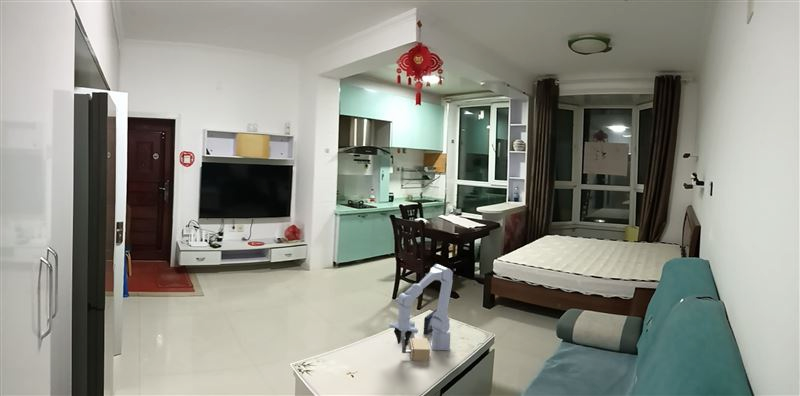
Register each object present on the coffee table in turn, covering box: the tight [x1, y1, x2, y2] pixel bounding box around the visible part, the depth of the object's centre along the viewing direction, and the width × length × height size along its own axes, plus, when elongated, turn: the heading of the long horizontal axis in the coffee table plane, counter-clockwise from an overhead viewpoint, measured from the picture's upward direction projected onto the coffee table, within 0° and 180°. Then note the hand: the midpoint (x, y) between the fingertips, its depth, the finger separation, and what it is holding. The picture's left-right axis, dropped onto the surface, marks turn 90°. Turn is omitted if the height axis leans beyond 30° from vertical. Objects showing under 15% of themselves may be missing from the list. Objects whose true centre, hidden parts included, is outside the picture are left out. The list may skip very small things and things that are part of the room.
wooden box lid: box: [401, 338, 413, 361], centre depth 201 cm, size 5×12×10 cm, turn 4°
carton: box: [411, 337, 431, 362], centre depth 202 cm, size 8×12×6 cm, turn 4°
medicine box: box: [401, 320, 416, 340], centre depth 222 cm, size 8×4×9 cm, turn 84°
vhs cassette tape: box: [423, 308, 437, 335], centre depth 233 cm, size 18×3×10 cm, turn 147°
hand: (402, 343), depth 199 cm, fingers open, 3 cm apart
